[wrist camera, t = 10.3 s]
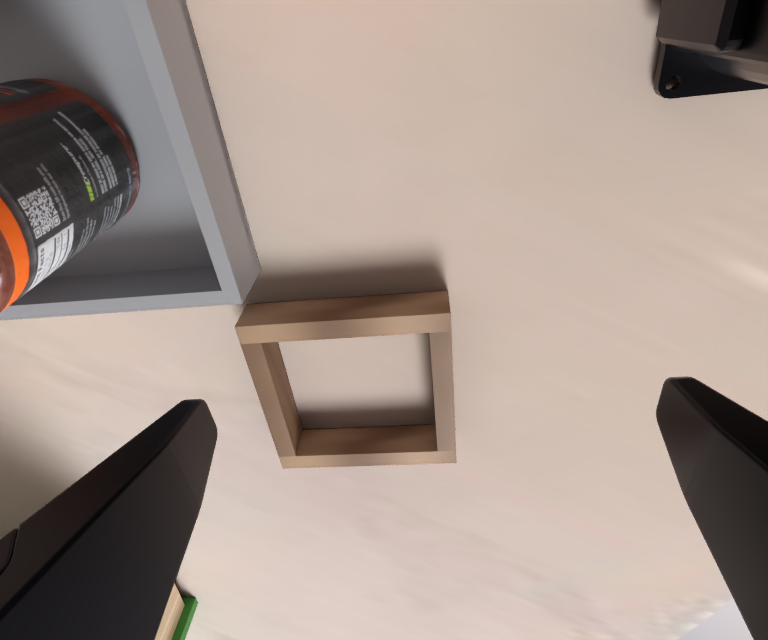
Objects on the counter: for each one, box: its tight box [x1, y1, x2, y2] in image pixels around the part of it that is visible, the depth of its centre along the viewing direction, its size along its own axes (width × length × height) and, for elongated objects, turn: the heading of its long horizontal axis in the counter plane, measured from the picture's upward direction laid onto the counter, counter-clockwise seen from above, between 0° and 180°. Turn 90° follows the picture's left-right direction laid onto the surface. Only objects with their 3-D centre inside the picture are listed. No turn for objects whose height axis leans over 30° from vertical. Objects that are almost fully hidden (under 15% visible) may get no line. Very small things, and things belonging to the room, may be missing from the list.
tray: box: [0, 0, 261, 320], centre depth 19 cm, size 12×12×3 cm
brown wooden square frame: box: [235, 291, 456, 468], centre depth 25 cm, size 10×10×2 cm
